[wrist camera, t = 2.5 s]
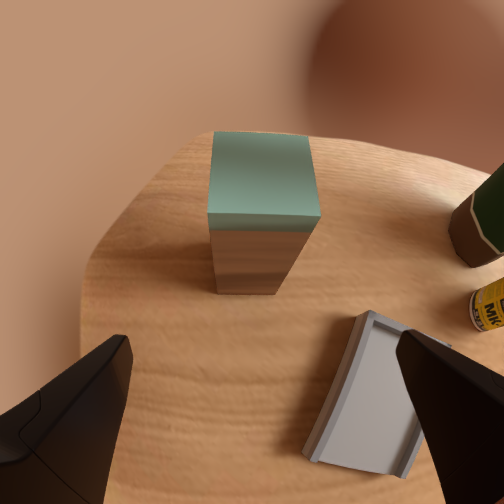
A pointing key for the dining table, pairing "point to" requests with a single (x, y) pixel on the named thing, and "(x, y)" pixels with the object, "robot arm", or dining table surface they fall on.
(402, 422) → the tray
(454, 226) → the beer bottle
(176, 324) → the dining table surface
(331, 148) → the dining table surface
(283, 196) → the green-topped wooden block
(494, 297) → the supplement bottle
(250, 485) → the dining table surface
